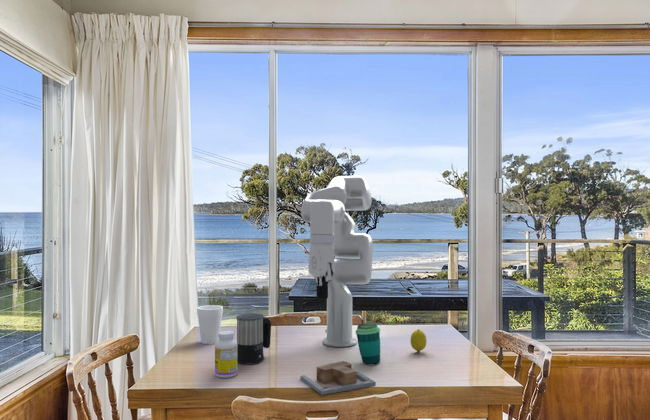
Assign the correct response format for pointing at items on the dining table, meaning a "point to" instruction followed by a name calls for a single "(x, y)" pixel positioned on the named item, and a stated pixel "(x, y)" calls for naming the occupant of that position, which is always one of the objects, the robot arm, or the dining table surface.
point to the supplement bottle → (226, 355)
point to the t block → (337, 373)
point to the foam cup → (209, 322)
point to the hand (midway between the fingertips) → (322, 298)
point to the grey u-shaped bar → (322, 391)
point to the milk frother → (252, 337)
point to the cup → (369, 343)
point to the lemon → (418, 340)
